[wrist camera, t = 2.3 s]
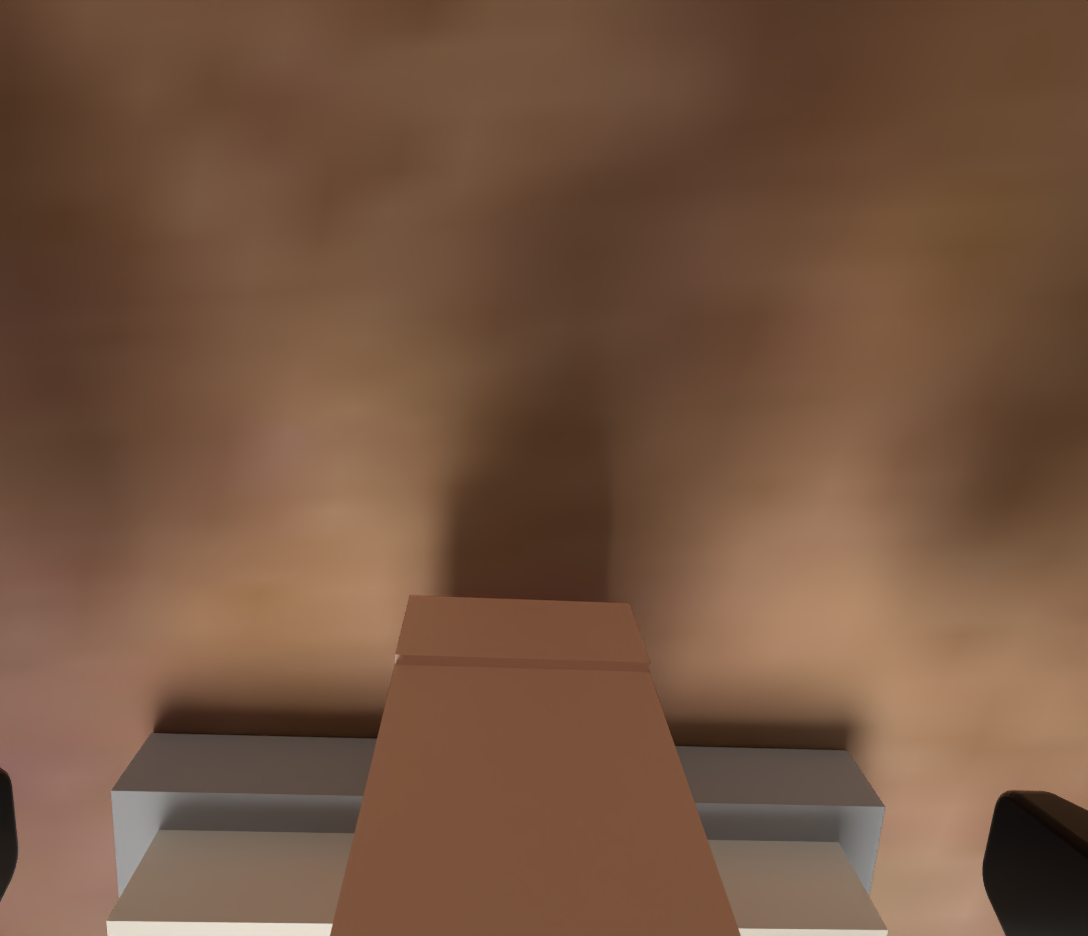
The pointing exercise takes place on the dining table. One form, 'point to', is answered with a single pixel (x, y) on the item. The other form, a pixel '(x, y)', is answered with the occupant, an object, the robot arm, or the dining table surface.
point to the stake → (344, 763)
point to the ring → (506, 810)
